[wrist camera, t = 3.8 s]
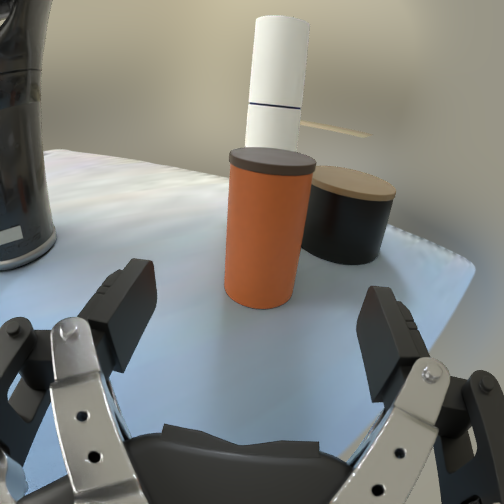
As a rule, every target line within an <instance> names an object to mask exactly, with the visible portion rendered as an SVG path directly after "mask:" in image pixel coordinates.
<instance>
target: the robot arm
mask: <svg viewBox="0 0 504 504" xmlns="http://www.w3.org/2000/svg"><path fill="white" fill-rule="evenodd" d="M52 1H53V0H0V21H1V20H4V19H6V20H5V21H4V23H3V24H2V25H1V26H0V270H8V269H13V268H16V267H19V266H22V265H25V264H27V263H29V262H31V261H33V260H35V259H37V258H38V257H40V256H41V255H43V254H44V253H45V252H47V251H48V250H49V249H50V248H51V247H52V245H53V244H54V243H55V241H56V231H55V227H54V225H53V220H52V215H51V209H50V203H49V196H48V189H47V182H46V174H45V165H44V155H43V142H42V125H41V124H42V123H41V74H42V73H41V71H42V58H43V51H44V45H45V39H46V31H47V24H48V18H49V13H50V9H51V5H52ZM156 304H157V289H156V281H155V272H154V264H153V262H152V261H150V260H143V259H135V258H133V259H131V260H130V262H129V263H128V264H127V265H126V267H125V268H124V269H123V270H120V269H119V270H117V271H116V272H114V273H112V274H111V275H109V276H108V277H107V278H106V280H105V281H104V282H103V283H102V286H100V287H99V289H98V290H97V291H96V293H95V294H94V295H93V296H92V298H91V299H90V300H89V301H88V303H87V304H86V305H85V307H84V308H83V309H82V311H81V312H80V313H79V315H78V316H77V317H70V318H66V319H63V320H61V321H59V322H58V323H57V324H56V325H55V326H54V327H53V328H52V330H34V329H33V327H32V325H31V323H30V321H29V320H28V319H27V318H24V317H16V318H12V319H10V320H8V321H7V322H5V323H4V324H3V325H2V327H1V328H0V504H404V503H405V502H406V500H407V498H408V496H409V495H410V493H411V491H412V489H413V487H414V485H415V483H416V481H417V480H418V478H419V475H420V473H421V471H422V469H423V467H424V465H425V463H426V461H427V458H428V456H429V454H430V452H431V450H432V447H434V453H435V458H436V464H437V470H438V477H439V485H440V493H441V502H442V504H504V395H503V392H502V390H501V387H500V385H499V383H498V381H497V380H496V378H495V377H494V376H493V375H492V374H490V373H489V372H487V371H483V370H477V371H475V372H474V373H473V374H472V375H471V376H470V378H469V379H468V380H466V379H461V378H457V377H452V376H450V374H449V371H448V369H447V368H446V367H445V365H444V364H443V363H441V362H440V361H438V360H437V359H434V358H431V357H430V355H429V353H428V351H427V348H426V346H425V344H424V341H423V339H422V337H421V335H420V332H419V330H417V329H418V328H417V326H416V324H415V322H414V319H413V317H412V315H411V313H410V311H409V310H408V309H407V308H406V306H405V305H404V304H403V303H402V302H401V301H396V298H395V296H394V294H393V292H392V290H391V288H389V287H379V286H370V287H369V289H368V291H367V294H366V297H365V299H364V302H363V305H362V308H361V311H360V313H359V316H358V319H357V325H356V332H357V337H358V341H359V345H360V349H361V353H362V358H363V362H364V367H365V371H366V376H367V380H368V385H369V390H370V395H371V400H372V403H374V402H383V403H384V407H385V408H384V409H383V410H382V412H381V413H380V415H379V417H378V418H377V420H376V421H375V423H374V424H373V426H372V428H371V429H370V431H369V432H368V434H367V435H366V437H365V438H364V440H363V441H362V443H361V444H360V446H359V447H358V449H357V450H356V451H355V452H354V454H353V455H352V456H351V457H350V459H349V460H348V461H347V462H344V461H342V460H341V459H339V458H337V457H335V456H333V455H330V454H327V453H324V452H320V451H319V442H311V441H284V440H281V441H274V442H267V443H260V444H252V445H237V444H234V443H231V442H228V441H225V440H223V439H220V438H217V437H215V436H212V435H210V434H207V433H205V432H202V431H198V430H193V429H187V428H182V427H177V426H173V425H168V424H164V426H163V430H162V433H151V434H145V435H140V436H137V437H134V438H132V436H131V434H130V432H129V430H128V428H127V425H126V423H125V421H124V418H123V415H122V413H121V410H120V407H119V405H118V402H117V399H116V396H115V393H114V390H113V387H112V384H111V381H110V379H109V377H110V375H111V373H112V371H117V372H120V373H124V371H125V369H126V367H127V365H128V363H129V361H130V359H131V357H132V354H133V352H134V350H135V348H136V346H137V344H138V342H139V340H140V338H141V336H142V334H143V332H144V330H145V328H146V326H147V324H148V322H149V320H150V318H151V316H152V314H153V312H154V310H155V308H156ZM18 372H19V374H20V375H21V379H20V381H19V383H18V384H17V386H16V388H15V390H14V392H13V393H12V395H11V397H10V399H9V401H8V398H7V393H8V389H9V387H10V386H11V384H12V382H13V380H14V379H15V377H16V375H17V374H18ZM50 402H51V403H52V409H53V415H54V420H55V425H56V430H57V435H58V439H59V443H60V448H61V452H62V456H63V459H64V463H65V467H66V470H67V473H68V474H67V475H65V476H63V477H62V478H60V479H58V480H56V481H54V482H52V483H50V484H48V485H46V486H44V487H42V488H40V489H38V490H36V491H34V492H32V493H30V494H28V495H26V496H25V493H26V492H27V490H28V484H27V482H26V478H25V473H24V470H23V465H24V463H25V460H26V457H27V455H28V452H29V450H30V447H31V445H32V443H33V440H34V438H35V435H36V433H37V431H38V428H39V426H40V424H41V422H42V419H43V417H44V415H45V413H46V411H47V409H48V406H49V404H50ZM471 426H472V427H473V431H474V434H475V438H476V442H477V452H476V455H475V456H474V454H473V450H472V446H471V441H470V437H469V434H468V429H469V428H470V427H471Z"/></svg>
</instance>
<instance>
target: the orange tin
mask: <svg viewBox="0 0 504 504" xmlns="http://www.w3.org/2000/svg"><path fill="white" fill-rule="evenodd" d="M229 162H230V179H229V197H228V215H227V235H226V257H225V281H224V287H225V291H226V293H227V294H228V296H229V297H230V298H231V299H232V300H234V301H235V302H237V303H239V304H241V305H243V306H246V307H250V308H256V309H269V308H275V307H278V306H280V305H283V304H284V303H286V302H287V301H288V300H289V299H290V298H291V296H292V293H293V288H294V282H295V277H296V272H297V267H298V261H299V256H300V250H301V245H302V239H303V233H304V227H305V221H306V215H307V209H308V203H309V197H310V190H311V184H312V177H313V172H314V171H315V168H316V161H315V159H313V158H311V157H309V156H307V155H304V154H301V153H298V152H293V151H289V150H283V149H276V148H265V147H245V148H238V149H234V150H232V151H230V154H229Z"/></svg>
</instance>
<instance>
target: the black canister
mask: <svg viewBox="0 0 504 504" xmlns="http://www.w3.org/2000/svg"><path fill="white" fill-rule="evenodd" d="M395 194H396V189H395V188H394V187H393V186H392V185H391V184H390V183H388V182H386V181H384V180H382V179H380V178H378V177H375V176H373V175H370V174H367V173H363V172H360V171H356V170H352V169H347V168H341V167H334V166H316V168H315V171H314V172H313V177H312V184H311V190H310V197H309V203H308V209H307V215H306V221H305V227H304V233H303V239H302V245H301V246H302V247H303V248H304V249H305V250H306V251H308V252H309V253H311V254H313V255H315V256H317V257H319V258H322V259H325V260H327V261H331V262H335V263H340V264H348V265H360V264H366V263H369V262H371V261H373V260H375V259H376V258H377V256H378V253H379V250H380V247H381V243H382V240H383V236H384V233H385V229H386V226H387V222H388V218H389V214H390V210H391V207H392V202H393V199H394V197H395Z"/></svg>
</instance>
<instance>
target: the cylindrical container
mask: <svg viewBox="0 0 504 504" xmlns="http://www.w3.org/2000/svg"><path fill="white" fill-rule="evenodd" d="M309 30H310V24H309V23H308V22H306V21H304V20H301V19H298V18H294V17H288V16H278V15H269V16H262V17H259V18H257V19H256V27H255V37H254V49H253V58H252V69H251V82H250V92H249V102H250V104H248V115H247V127H246V140H245V147H265V148H276V149H283V150H289V151H293V152H296V151H297V143H298V135H299V127H300V118H301V109H300V108H301V107H302V100H303V90H304V82H305V72H306V61H307V51H308V41H309Z"/></svg>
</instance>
